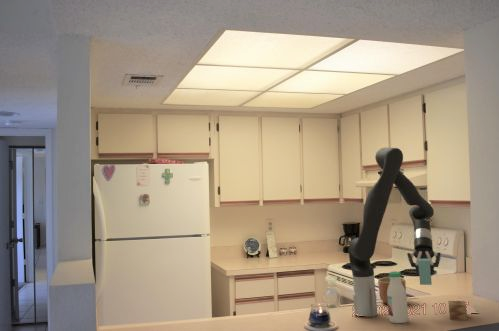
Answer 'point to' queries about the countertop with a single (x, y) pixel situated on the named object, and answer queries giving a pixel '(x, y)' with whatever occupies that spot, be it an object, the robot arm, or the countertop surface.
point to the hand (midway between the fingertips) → (425, 274)
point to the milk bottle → (397, 299)
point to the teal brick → (424, 271)
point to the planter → (386, 287)
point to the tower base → (457, 317)
